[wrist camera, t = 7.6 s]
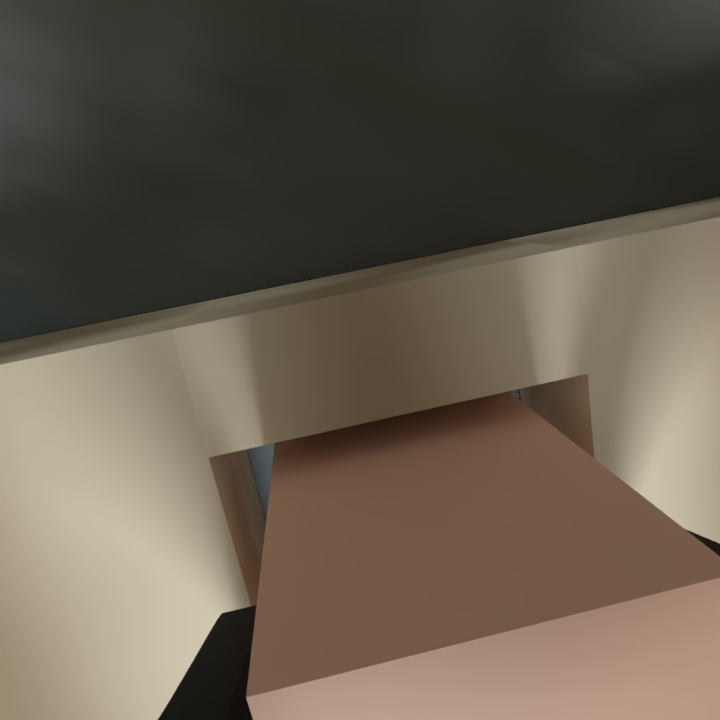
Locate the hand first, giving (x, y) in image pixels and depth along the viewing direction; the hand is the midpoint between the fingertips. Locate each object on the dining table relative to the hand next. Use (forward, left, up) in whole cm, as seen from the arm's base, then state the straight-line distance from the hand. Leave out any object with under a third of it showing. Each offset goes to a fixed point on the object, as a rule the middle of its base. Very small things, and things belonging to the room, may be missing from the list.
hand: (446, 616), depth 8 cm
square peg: (0, 0, -4) cm, 4 cm away
